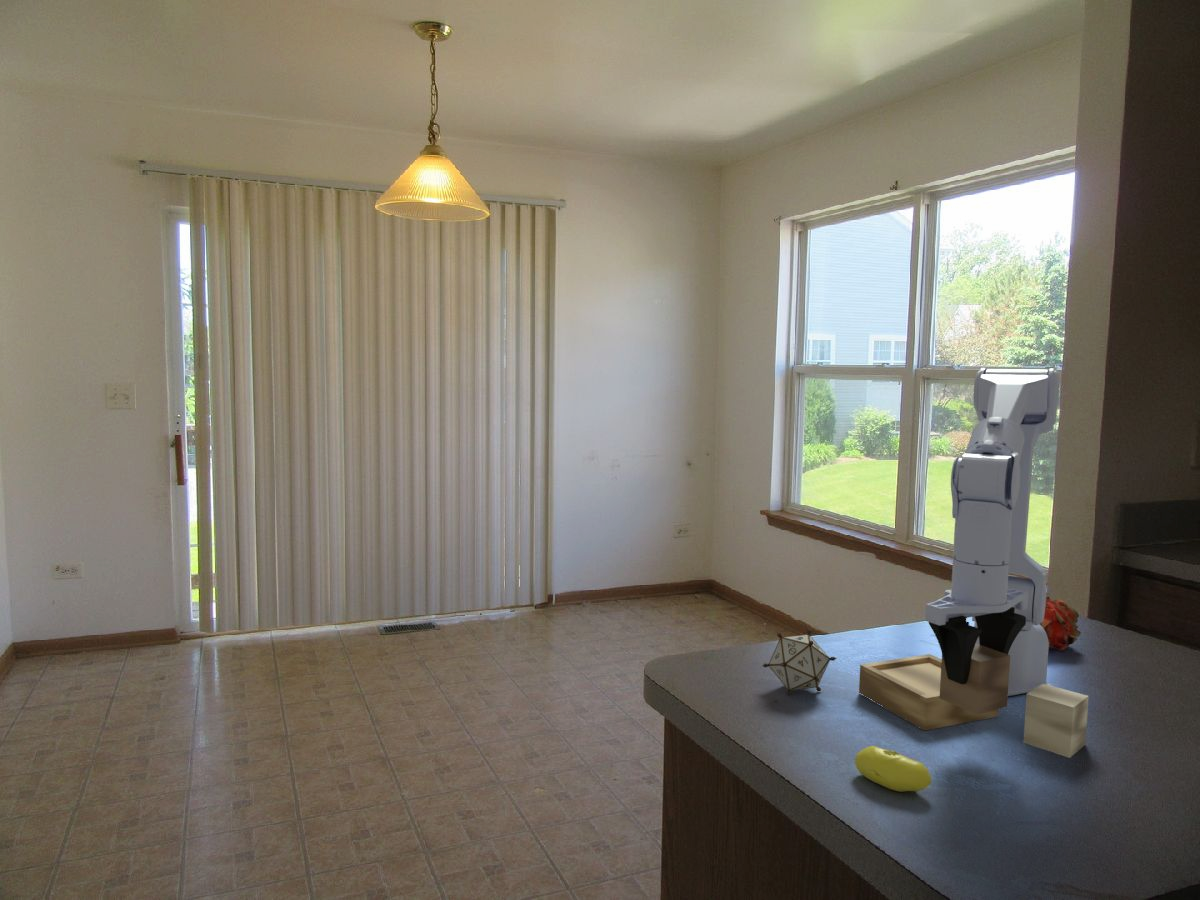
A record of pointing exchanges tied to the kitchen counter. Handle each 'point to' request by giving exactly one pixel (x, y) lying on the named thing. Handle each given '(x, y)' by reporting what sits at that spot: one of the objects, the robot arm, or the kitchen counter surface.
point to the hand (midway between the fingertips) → (974, 677)
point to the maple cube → (1056, 720)
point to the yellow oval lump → (892, 769)
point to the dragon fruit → (1060, 624)
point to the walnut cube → (979, 682)
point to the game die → (799, 662)
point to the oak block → (914, 692)
